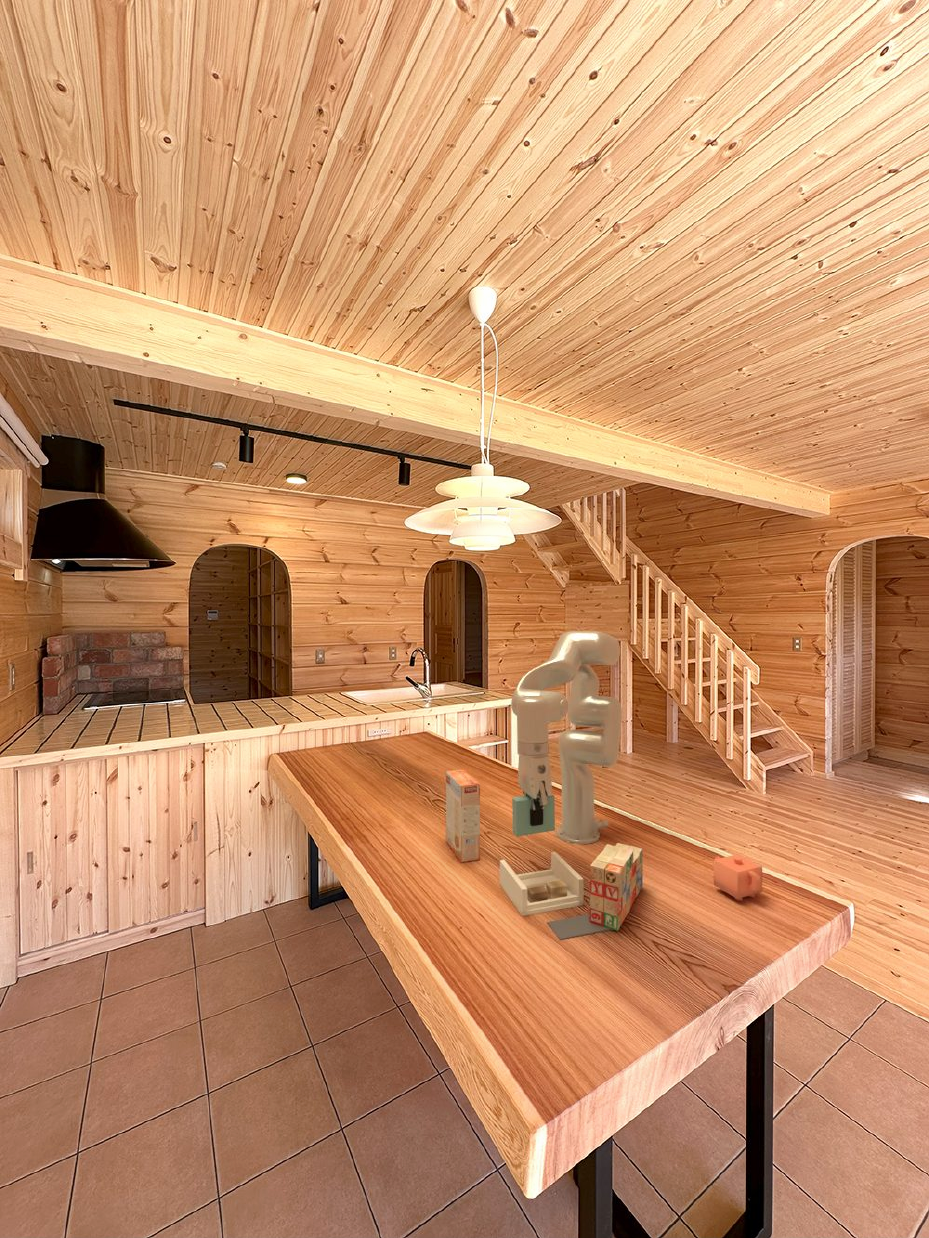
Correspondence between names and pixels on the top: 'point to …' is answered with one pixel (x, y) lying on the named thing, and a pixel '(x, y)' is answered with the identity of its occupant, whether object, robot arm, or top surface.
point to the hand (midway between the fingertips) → (533, 821)
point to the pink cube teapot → (737, 876)
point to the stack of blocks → (614, 884)
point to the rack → (559, 871)
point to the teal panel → (522, 816)
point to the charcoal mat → (575, 927)
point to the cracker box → (463, 815)
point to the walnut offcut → (537, 894)
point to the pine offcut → (556, 889)
